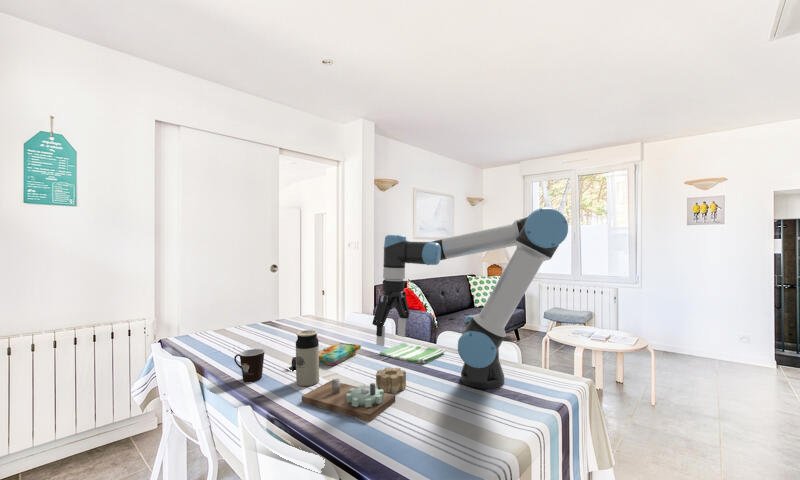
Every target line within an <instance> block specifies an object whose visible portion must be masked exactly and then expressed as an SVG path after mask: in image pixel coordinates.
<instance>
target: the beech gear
mask: <svg viewBox="0 0 800 480" xmlns="http://www.w3.org/2000/svg"><path fill="white" fill-rule="evenodd" d="M375 386H378V390H379V389H383V391H384V393H387V394H388V393H391V395H394V394H398V392H400V391H401V392H403V391H405V390H406V387H407V370H404V369H403V370H402V369H401V367H394V368H393V367H392V368H391V367H385V368H384V369H378V370H376V373H375Z"/></svg>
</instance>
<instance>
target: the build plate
mask: <svg viewBox="0 0 800 480" xmlns="http://www.w3.org/2000/svg"><path fill="white" fill-rule="evenodd" d="M291 358H292V359H291V366H289V367H288V368H289V369H290V370H292V372H295V371H294V370H296V356H294V357H291Z"/></svg>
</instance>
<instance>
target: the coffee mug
mask: <svg viewBox="0 0 800 480" xmlns="http://www.w3.org/2000/svg"><path fill="white" fill-rule="evenodd" d="M237 357H239V360H240V364H239V363H238V361H237ZM264 359H265V349H263V348H250V349H245V350H243V351H240V352H239V353H238V354H236V355H234V358H233V360H234V363H235V365H236V366H237V367H239V369H241V375H242V376H241V377H242V381H243V383H246V382H252V383H256V382H259V381H261V380H262V379H263V371H264V370H263V369H264V362H265V361H264ZM261 378H262V379H261ZM260 379H261V380H260Z"/></svg>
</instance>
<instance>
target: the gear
mask: <svg viewBox="0 0 800 480" xmlns="http://www.w3.org/2000/svg"><path fill="white" fill-rule="evenodd" d="M358 387H359V388H356V389H355V388H351V389H350V390H349V393H347V394H346V399H347V403H349V402H352V406H354V407H358V406H359V405H360V406H365V407H372V404H375V403H377V404H380V403H381V402H382V398H384V391H383V389H379V390H378V386H376V382H373V383H372V382H371V383H369V386H366V385H365V384H364V385H359V386H358Z"/></svg>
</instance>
